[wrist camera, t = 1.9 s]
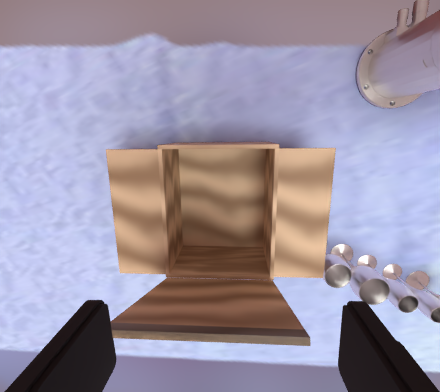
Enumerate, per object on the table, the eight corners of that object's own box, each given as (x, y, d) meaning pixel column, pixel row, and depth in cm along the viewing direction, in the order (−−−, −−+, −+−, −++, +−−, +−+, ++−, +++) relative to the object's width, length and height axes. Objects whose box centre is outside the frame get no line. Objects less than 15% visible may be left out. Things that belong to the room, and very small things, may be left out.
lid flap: (100, 329, 22) (99, 337, 22) (310, 337, 21) (310, 345, 21) (167, 277, 43) (167, 281, 43) (272, 280, 42) (272, 284, 42)
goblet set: (299, 253, 54) (319, 291, 41) (311, 229, 52) (335, 260, 39) (422, 296, 54) (480, 347, 41) (437, 273, 53) (501, 318, 40)
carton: (135, 142, 50) (105, 145, 39) (311, 141, 48) (336, 143, 36) (144, 246, 55) (120, 276, 44) (303, 249, 53) (322, 281, 42)
